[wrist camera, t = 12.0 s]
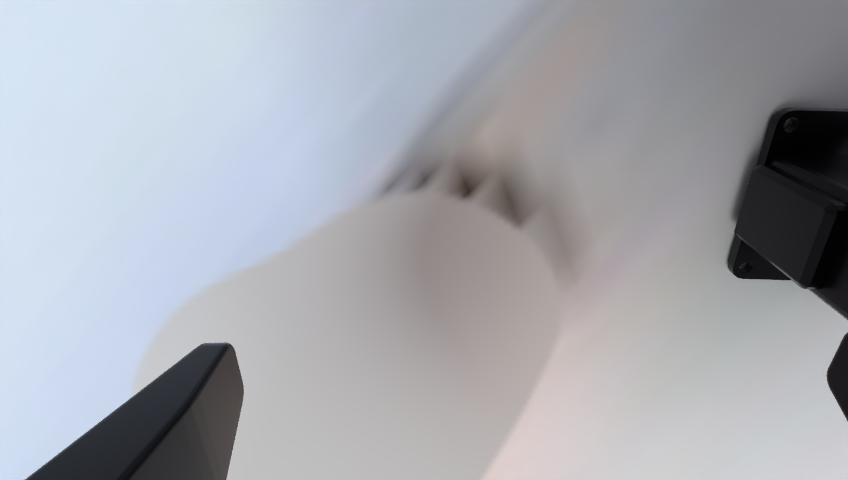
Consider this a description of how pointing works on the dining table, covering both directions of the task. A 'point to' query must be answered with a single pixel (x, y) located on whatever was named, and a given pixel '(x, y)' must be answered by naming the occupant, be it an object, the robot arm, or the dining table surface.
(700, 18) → the dining table surface
